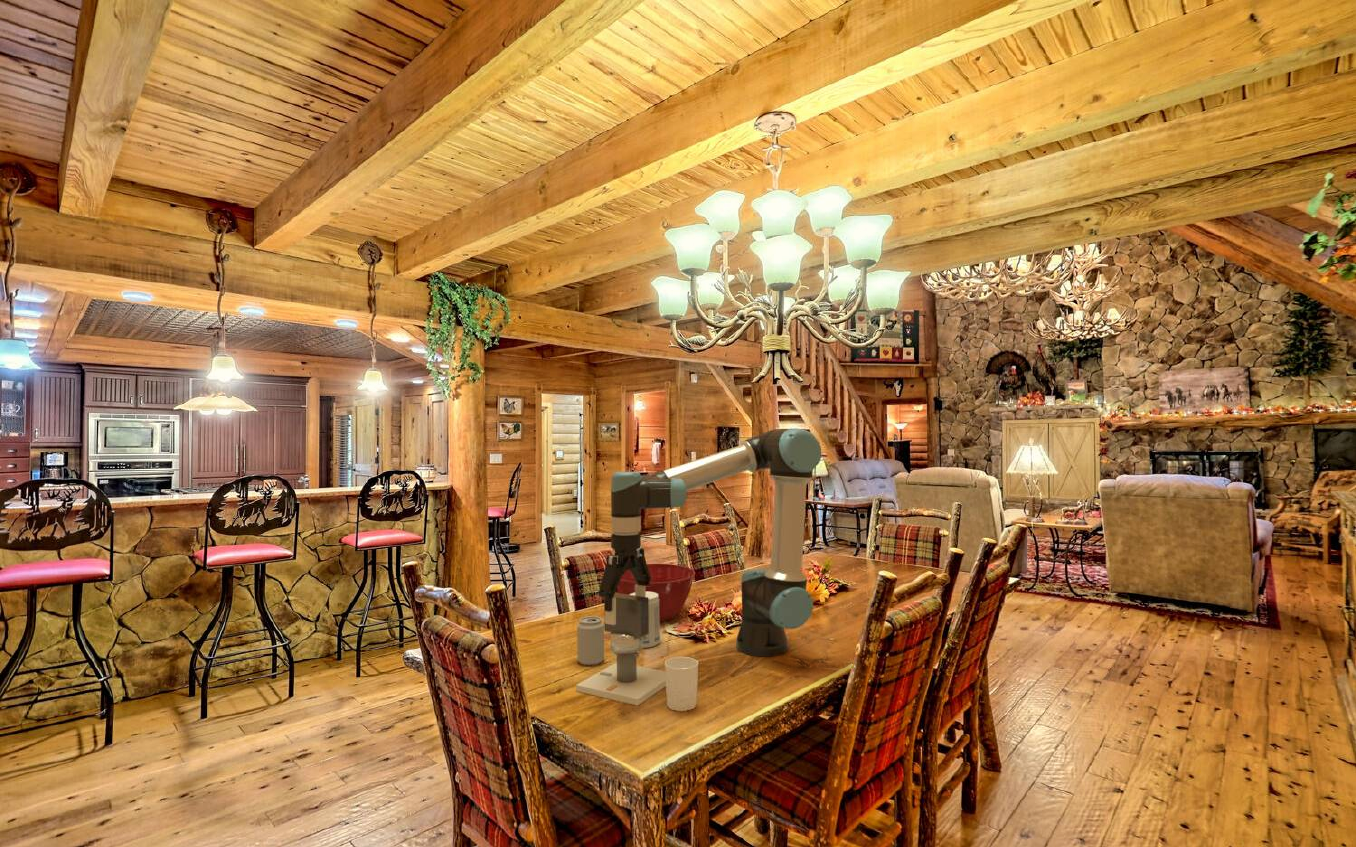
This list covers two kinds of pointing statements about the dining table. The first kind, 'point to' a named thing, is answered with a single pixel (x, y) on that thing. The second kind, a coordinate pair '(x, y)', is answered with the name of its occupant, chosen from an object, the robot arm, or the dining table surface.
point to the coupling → (628, 623)
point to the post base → (624, 689)
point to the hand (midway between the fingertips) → (625, 617)
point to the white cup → (681, 683)
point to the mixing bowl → (663, 586)
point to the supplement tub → (652, 621)
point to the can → (590, 640)
